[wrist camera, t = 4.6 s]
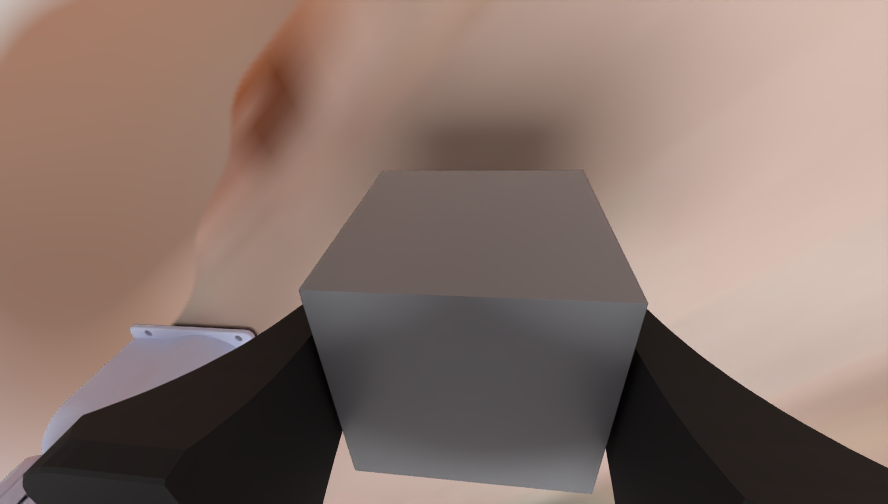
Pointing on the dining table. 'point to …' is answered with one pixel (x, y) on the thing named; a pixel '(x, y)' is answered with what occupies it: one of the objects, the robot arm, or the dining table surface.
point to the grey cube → (477, 327)
